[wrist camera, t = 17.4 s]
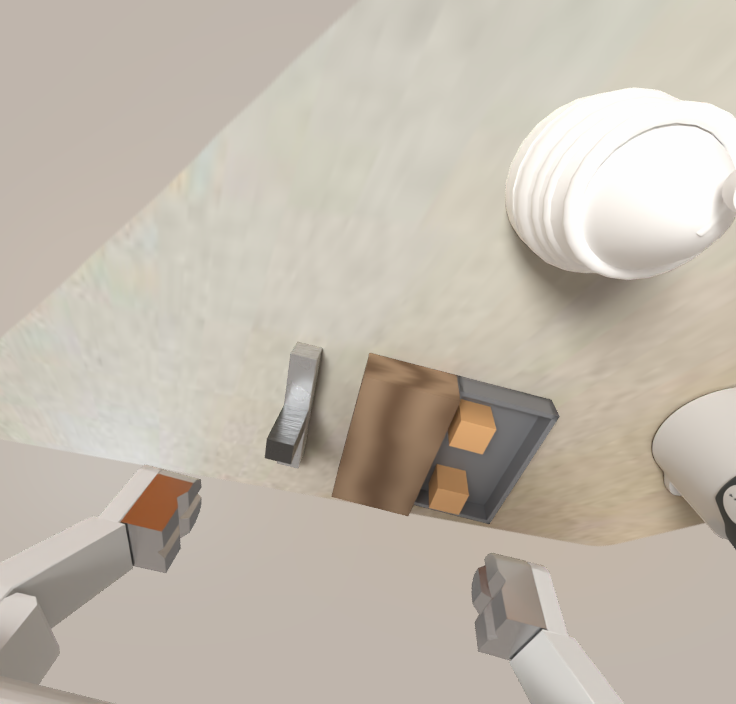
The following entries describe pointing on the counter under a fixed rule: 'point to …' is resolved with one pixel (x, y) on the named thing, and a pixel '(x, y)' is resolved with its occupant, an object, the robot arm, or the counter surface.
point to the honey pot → (624, 183)
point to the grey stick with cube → (295, 407)
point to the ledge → (395, 433)
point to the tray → (495, 447)
